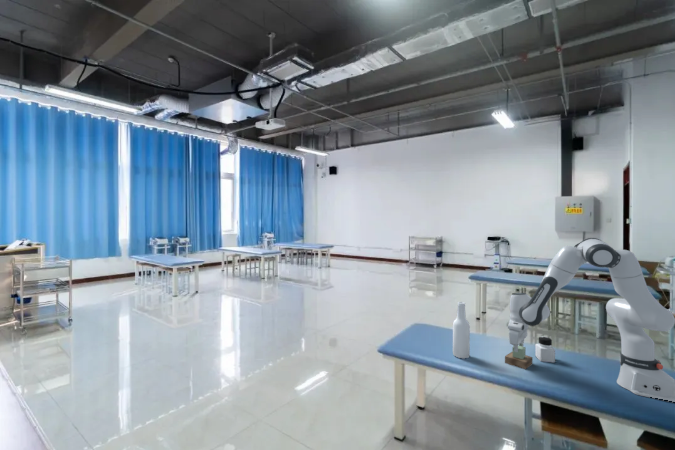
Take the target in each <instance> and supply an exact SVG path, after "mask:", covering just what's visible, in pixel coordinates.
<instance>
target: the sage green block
mask: <svg viewBox="0 0 675 450" xmlns="http://www.w3.org/2000/svg"><path fill="white" fill-rule="evenodd" d="M518 348H519V351H518V352H515V351H514V347H513V346H512V351H513V357H516V358H520V359H524V358H525V355H526V346H523V347H522V346H519V345H518Z"/></svg>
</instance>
